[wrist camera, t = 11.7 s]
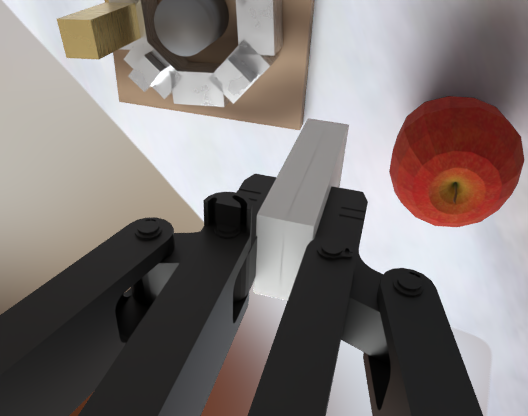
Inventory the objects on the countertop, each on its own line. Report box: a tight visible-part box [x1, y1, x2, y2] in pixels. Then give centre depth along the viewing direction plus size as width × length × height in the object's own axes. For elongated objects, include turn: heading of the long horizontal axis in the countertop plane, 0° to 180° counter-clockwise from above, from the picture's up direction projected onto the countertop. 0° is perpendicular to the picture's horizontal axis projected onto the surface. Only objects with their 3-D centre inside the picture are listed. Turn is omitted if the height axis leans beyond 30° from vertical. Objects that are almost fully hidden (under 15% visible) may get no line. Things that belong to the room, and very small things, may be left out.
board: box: [105, 0, 315, 130], centre depth 44 cm, size 20×20×6 cm
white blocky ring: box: [57, 0, 283, 107], centre depth 41 cm, size 16×15×10 cm
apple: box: [389, 96, 524, 227], centre depth 40 cm, size 10×10×14 cm
